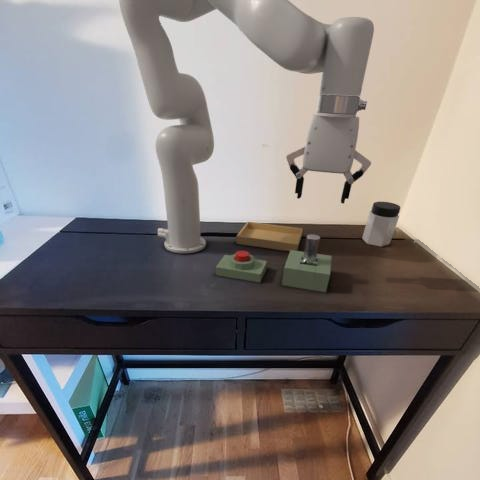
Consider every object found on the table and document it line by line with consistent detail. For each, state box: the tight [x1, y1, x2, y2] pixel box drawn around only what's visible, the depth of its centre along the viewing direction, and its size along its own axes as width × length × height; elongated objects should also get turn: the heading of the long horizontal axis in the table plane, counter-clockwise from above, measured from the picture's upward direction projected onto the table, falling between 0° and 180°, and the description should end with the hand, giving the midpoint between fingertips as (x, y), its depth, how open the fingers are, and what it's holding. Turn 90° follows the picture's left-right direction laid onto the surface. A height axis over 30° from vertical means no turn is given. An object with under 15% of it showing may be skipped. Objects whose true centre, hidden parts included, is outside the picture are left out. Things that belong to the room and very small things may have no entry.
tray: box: [235, 221, 304, 252], centre depth 102 cm, size 19×14×3 cm
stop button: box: [234, 250, 250, 262], centre depth 81 cm, size 4×4×2 cm
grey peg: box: [300, 233, 321, 266], centre depth 79 cm, size 4×4×12 cm
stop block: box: [215, 253, 268, 283], centre depth 83 cm, size 12×8×4 cm, turn 75°
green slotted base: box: [281, 250, 333, 293], centre depth 81 cm, size 11×11×5 cm
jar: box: [361, 201, 401, 248], centre depth 101 cm, size 9×8×12 cm
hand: (320, 199), depth 70 cm, fingers open, 9 cm apart
